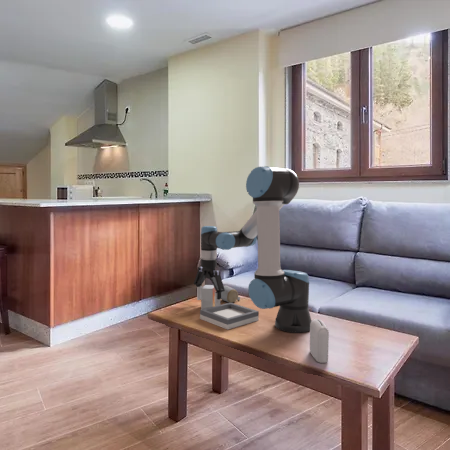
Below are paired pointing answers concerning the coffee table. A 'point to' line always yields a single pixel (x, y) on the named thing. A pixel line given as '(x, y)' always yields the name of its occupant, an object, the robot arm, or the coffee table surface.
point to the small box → (207, 296)
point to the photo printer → (319, 340)
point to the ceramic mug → (229, 294)
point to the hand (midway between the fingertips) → (208, 302)
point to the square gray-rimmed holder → (229, 315)
